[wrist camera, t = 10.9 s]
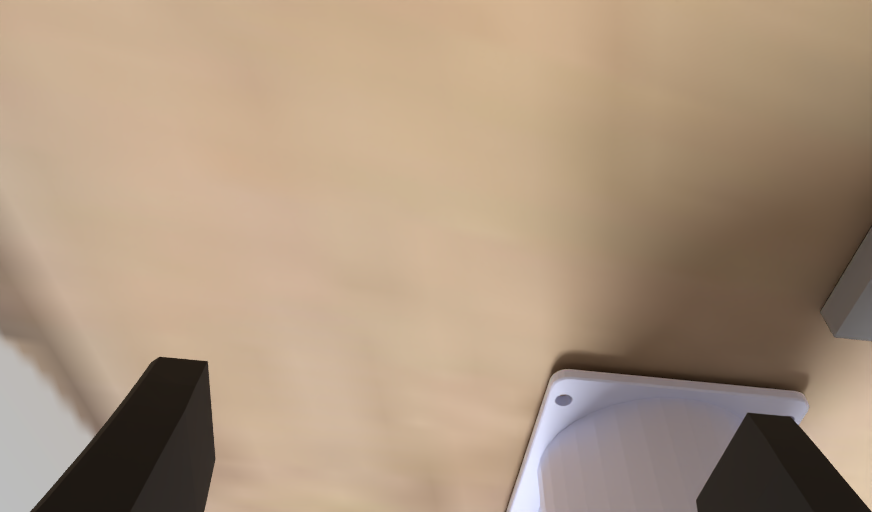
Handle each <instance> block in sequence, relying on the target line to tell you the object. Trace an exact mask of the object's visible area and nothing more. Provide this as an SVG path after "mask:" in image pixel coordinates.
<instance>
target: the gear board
mask: <svg viewBox="0 0 872 512" xmlns="http://www.w3.org/2000/svg"><path fill="white" fill-rule="evenodd" d="M820 313H821V315H822V316H823V318H824V320H825V322H826V324H827V325H828V327H829V329H830V331H831V333H832V334H833V336H834V337H836V338H846V339H856V340H866V341H872V227H871V229H870V230H869V232H868V234H867V235H866V237H865V239H864V240H863V242H862V244H861V245H860V247H859V249H858V250H857V252H856V253H855V255H854V257H853V258H852V260H851V262H850V263H849V265H848V267H847V268H846V270H845V272H844V273H843V275H842V277H841V278H840V280H839V282H838V283H837V285H836V287H835V288H834V290H833V292H832V293H831V295H830V297H829V298H828V300H827V302H826V303H825V305H824V306H823V308H822V310H821V311H820Z"/></svg>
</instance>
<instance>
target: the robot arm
mask: <svg viewBox="0 0 872 512" xmlns="http://www.w3.org/2000/svg"><path fill="white" fill-rule="evenodd" d="M565 394H566V395H565ZM560 395H565V396H560ZM808 409H809V404H808V401H807V399H806V397H805V395H804V394H802V393H801V392H797V391H790V390H780V389H769V388H759V387H749V386H738V385H728V384H718V383H708V382H697V381H687V380H677V379H667V378H656V377H646V376H636V375H625V374H615V373H605V372H595V371H584V370H574V369H563V370H560V371H557V372H556V373H554V374H553V375H552V377H551V378H550V380H549V384H548V387H547V390H546V393H545V396H544V399H543V402H542V405H541V408H540V411H539V414H538V417H537V420H536V423H535V426H534V429H533V432H532V435H531V438H530V441H529V444H528V447H527V450H526V453H525V456H524V459H523V463H522V466H521V469H520V472H519V475H518V478H517V481H516V484H515V487H514V490H513V493H512V496H511V499H510V502H509V505H508V508H507V511H506V512H871V510H870V509H869V508H868V507H867V506H866V504H865V503H864V502H863V501H862V500H861V499H860V497H859V496H858V495H857V494H856V493H855V491H854V490H853V489H852V488H851V487H850V486H849V484H848V483H847V482H846V481H845V480H844V478H843V477H842V476H841V475H840V474H839V472H838V471H837V470H836V469H835V468H834V466H833V465H832V464H831V463H830V462H829V460H828V459H827V458H826V457H825V456H824V455H823V453H822V452H821V451H820V450H819V449H818V447H817V446H816V445H815V444H814V443H813V442H812V440H811V439H810V438H809V437H808V436H807V435H806V433H805V432H804V431H803V430H802V429H801V428H800V427H799V424H800V422H801V421H802V419H803V418H804V416H805V415H806V413H807V412H808ZM214 463H215V448H214V436H213V423H212V410H211V397H210V385H209V372H208V361H198V360H188V359H177V358H167V357H159V358H157V359H156V360H154V361H152V362H151V363H150V365H149V366H148V368H147V369H146V370H145V372H144V373H143V375H142V376H141V377H140V379H139V380H138V381H137V383H136V384H135V385H134V387H133V388H132V389H131V391H130V392H129V393H128V395H127V396H126V397H125V399H124V400H123V401H122V403H121V404H120V405H119V407H118V408H117V409H116V410H115V412H114V413H113V414H112V416H111V417H110V418H109V419H108V421H107V422H106V423H105V424H104V426H103V427H102V428H101V429H100V431H99V432H98V433H97V434H96V436H95V437H94V438H93V439H92V440H91V442H90V443H89V444H88V445H87V447H86V448H85V449H84V450H83V451H82V453H81V454H80V455H79V456H78V457H77V458H76V460H75V461H74V462H73V463H72V464H71V465H70V467H69V468H68V469H67V470H66V471H65V472H64V474H63V475H62V476H61V477H60V478H59V480H58V481H57V482H56V483H55V484H54V485H53V487H52V488H51V489H50V490H49V491H48V492H47V493H46V495H45V496H44V497H43V498H42V499H41V500H40V501H39V502H38V504H37V505H36V506H35V507H34V508H33V509H32V510H31V511H30V512H204V510H205V505H206V501H207V496H208V491H209V487H210V482H211V477H212V472H213V468H214Z"/></svg>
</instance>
